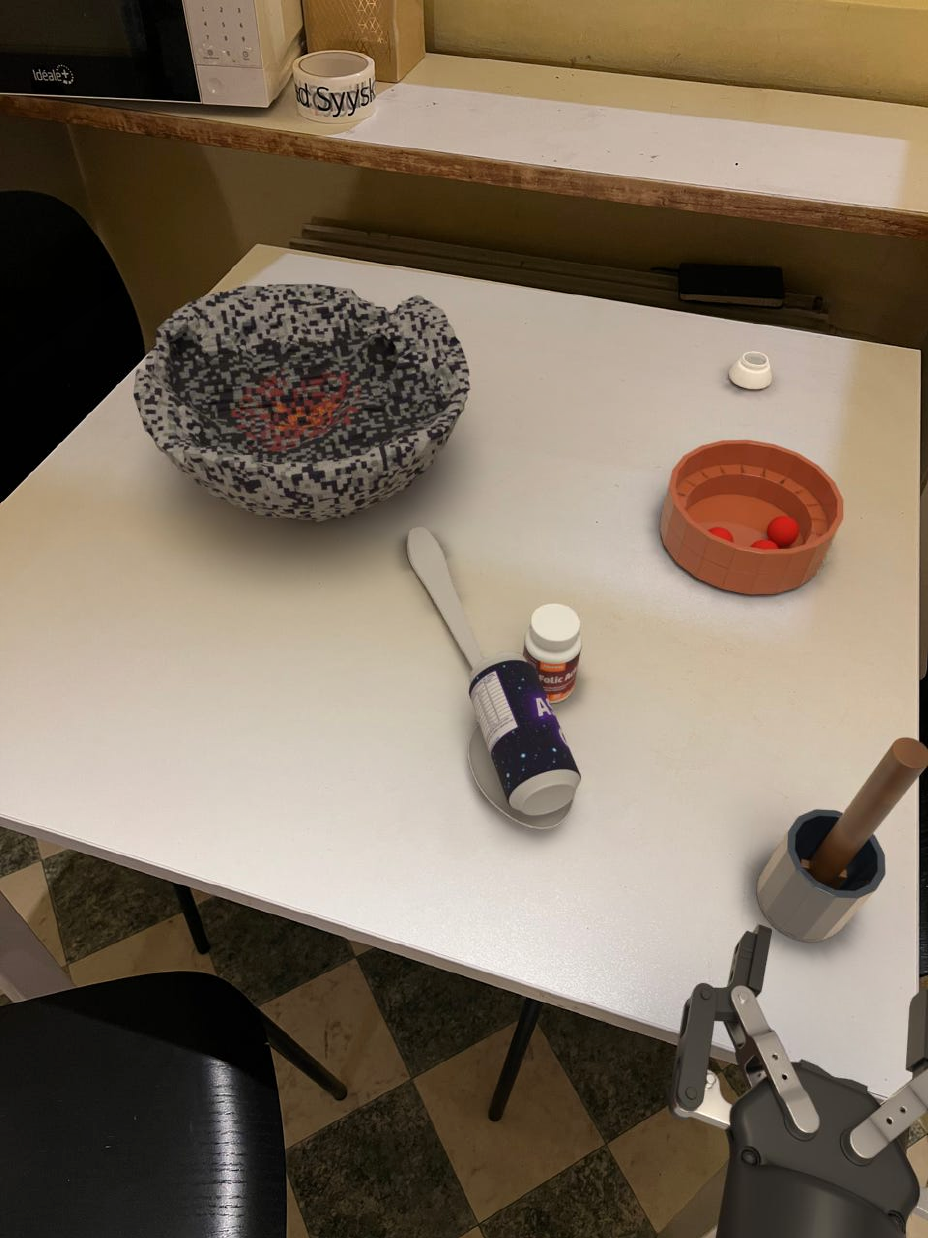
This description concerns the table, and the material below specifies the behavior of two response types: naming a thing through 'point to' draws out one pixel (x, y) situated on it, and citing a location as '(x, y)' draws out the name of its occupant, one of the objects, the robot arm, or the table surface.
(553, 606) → the pill bottle
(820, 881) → the stick
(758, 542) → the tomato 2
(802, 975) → the table surface
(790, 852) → the holder
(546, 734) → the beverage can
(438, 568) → the spoon
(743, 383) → the lidless jar
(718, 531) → the tomato
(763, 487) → the stew bowl
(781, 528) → the red ball
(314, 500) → the bowl
